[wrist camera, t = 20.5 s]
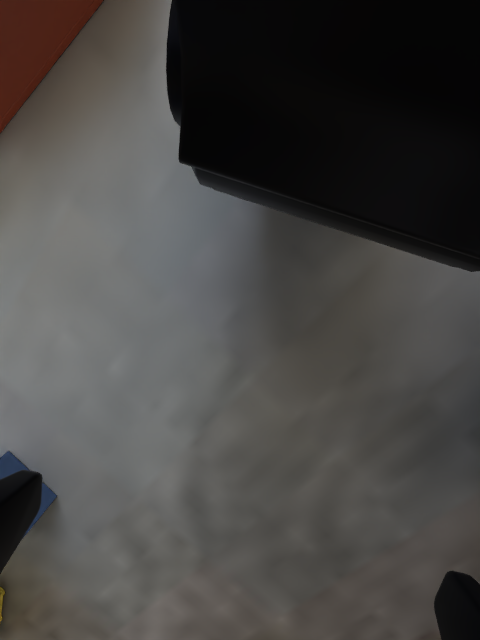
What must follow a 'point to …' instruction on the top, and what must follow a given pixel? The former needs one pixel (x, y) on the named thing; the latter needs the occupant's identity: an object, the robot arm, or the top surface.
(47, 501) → the blue block
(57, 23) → the red bin
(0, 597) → the toy block
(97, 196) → the top surface
